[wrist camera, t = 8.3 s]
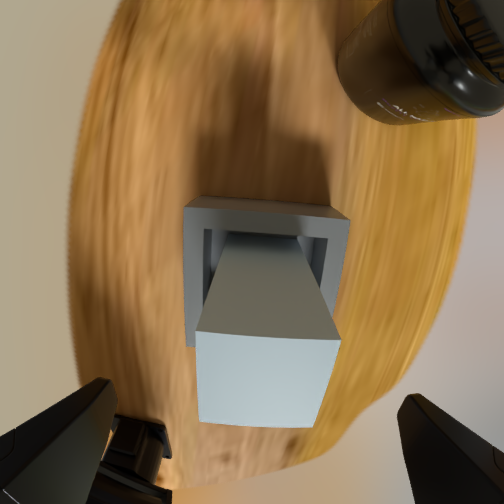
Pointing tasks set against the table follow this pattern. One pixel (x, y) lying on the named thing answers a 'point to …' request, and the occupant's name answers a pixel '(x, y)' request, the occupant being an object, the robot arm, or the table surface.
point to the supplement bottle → (426, 61)
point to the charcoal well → (257, 224)
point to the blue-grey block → (264, 337)
